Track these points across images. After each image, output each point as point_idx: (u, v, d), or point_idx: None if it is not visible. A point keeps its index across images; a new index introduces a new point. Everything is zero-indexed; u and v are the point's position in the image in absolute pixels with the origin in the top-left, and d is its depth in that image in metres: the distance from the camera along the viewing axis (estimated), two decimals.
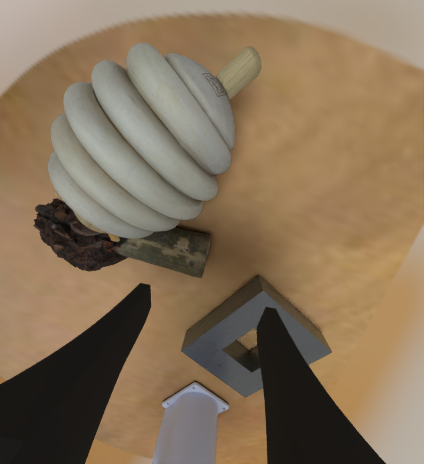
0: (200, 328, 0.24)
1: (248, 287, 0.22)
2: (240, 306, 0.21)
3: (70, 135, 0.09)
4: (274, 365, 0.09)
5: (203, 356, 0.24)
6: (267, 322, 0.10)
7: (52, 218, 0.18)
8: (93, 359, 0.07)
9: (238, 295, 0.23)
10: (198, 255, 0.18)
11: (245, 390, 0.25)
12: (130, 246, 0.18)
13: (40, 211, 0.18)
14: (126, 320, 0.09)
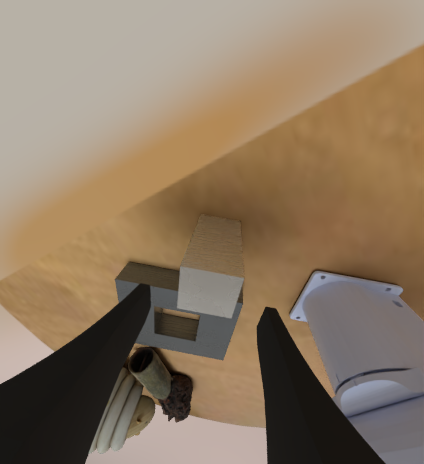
0: None
1: None
2: None
3: None
4: (274, 365, 0.09)
5: (215, 348, 0.24)
6: (267, 322, 0.10)
7: None
8: (93, 359, 0.07)
9: None
10: (133, 374, 0.29)
11: None
12: (155, 396, 0.31)
13: None
14: (126, 320, 0.09)
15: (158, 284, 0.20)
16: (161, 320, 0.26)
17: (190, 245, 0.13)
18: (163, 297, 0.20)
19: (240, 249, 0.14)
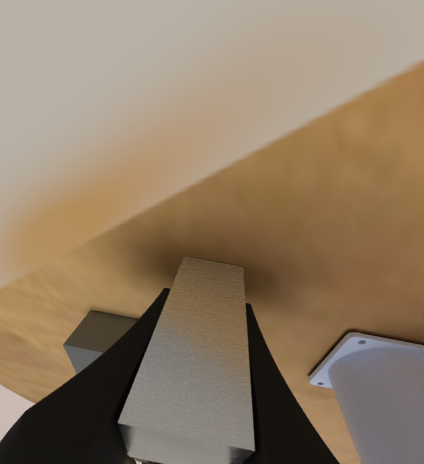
0: None
1: None
2: None
3: None
4: None
5: None
6: None
7: None
8: (134, 367, 0.07)
9: None
10: None
11: None
12: (136, 459, 0.25)
13: None
14: None
15: None
16: None
17: (153, 340, 0.07)
18: None
19: (244, 342, 0.08)
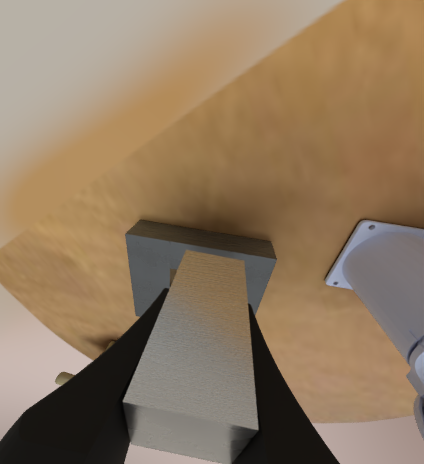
0: None
1: None
2: None
3: None
4: None
5: None
6: None
7: None
8: (134, 367, 0.07)
9: None
10: None
11: (262, 266, 0.17)
12: None
13: None
14: None
15: (175, 239, 0.17)
16: None
17: (157, 327, 0.07)
18: (181, 255, 0.17)
19: (246, 329, 0.08)
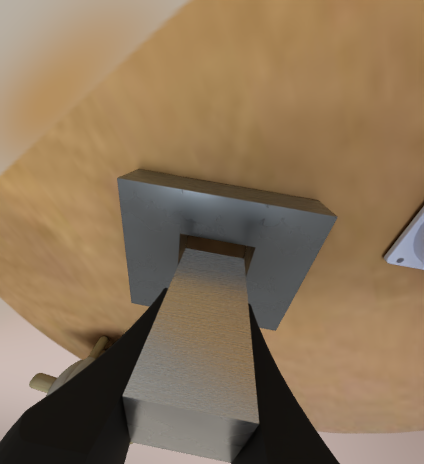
0: None
1: None
2: None
3: None
4: None
5: (267, 310, 0.16)
6: None
7: None
8: (134, 367, 0.07)
9: None
10: None
11: (313, 228, 0.12)
12: None
13: None
14: None
15: (190, 188, 0.12)
16: None
17: (157, 323, 0.07)
18: (197, 213, 0.12)
19: (246, 325, 0.08)
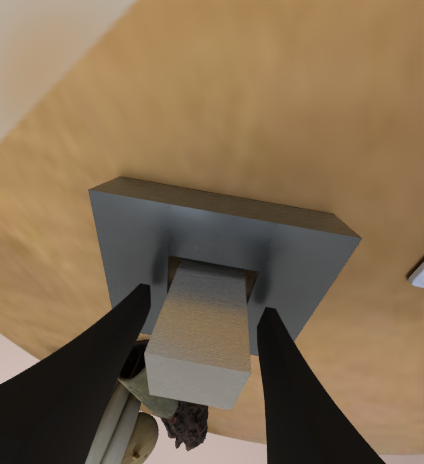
0: None
1: None
2: None
3: None
4: (274, 365, 0.09)
5: None
6: (267, 322, 0.10)
7: None
8: (93, 359, 0.07)
9: None
10: (121, 382, 0.19)
11: (331, 251, 0.10)
12: (156, 414, 0.21)
13: None
14: (126, 320, 0.09)
15: (179, 202, 0.10)
16: None
17: (167, 300, 0.09)
18: (188, 232, 0.10)
19: (243, 302, 0.09)
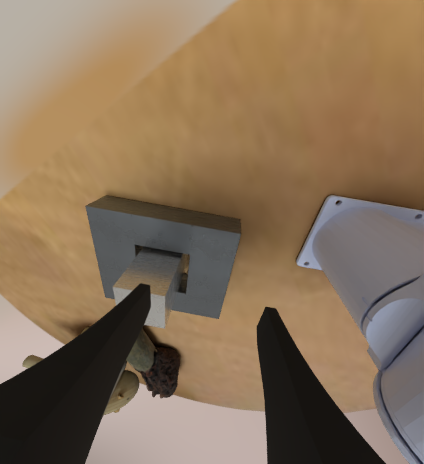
0: None
1: None
2: None
3: None
4: (274, 365, 0.09)
5: (208, 302, 0.21)
6: (267, 322, 0.10)
7: None
8: (93, 359, 0.07)
9: None
10: None
11: (227, 241, 0.16)
12: (136, 367, 0.28)
13: None
14: (126, 320, 0.09)
15: (138, 213, 0.16)
16: None
17: (130, 266, 0.16)
18: (145, 230, 0.17)
19: (174, 269, 0.16)
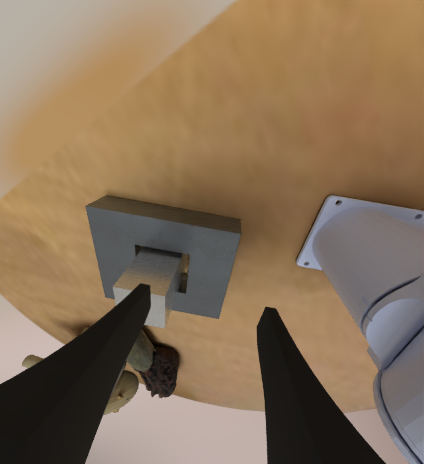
0: None
1: None
2: None
3: None
4: (274, 365, 0.09)
5: (208, 302, 0.21)
6: (267, 322, 0.10)
7: None
8: (93, 359, 0.07)
9: None
10: None
11: (227, 241, 0.16)
12: (135, 367, 0.28)
13: None
14: (126, 320, 0.09)
15: (138, 213, 0.16)
16: None
17: (130, 266, 0.16)
18: (145, 230, 0.17)
19: (174, 269, 0.16)
